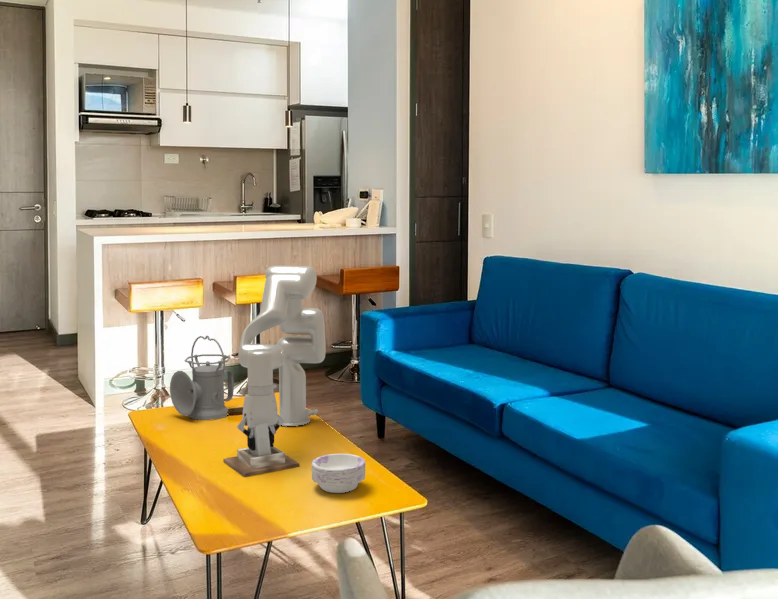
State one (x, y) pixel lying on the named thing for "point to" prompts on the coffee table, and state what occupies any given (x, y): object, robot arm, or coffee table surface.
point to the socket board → (260, 462)
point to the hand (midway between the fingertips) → (261, 447)
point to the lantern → (202, 388)
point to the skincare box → (261, 441)
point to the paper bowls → (338, 472)
